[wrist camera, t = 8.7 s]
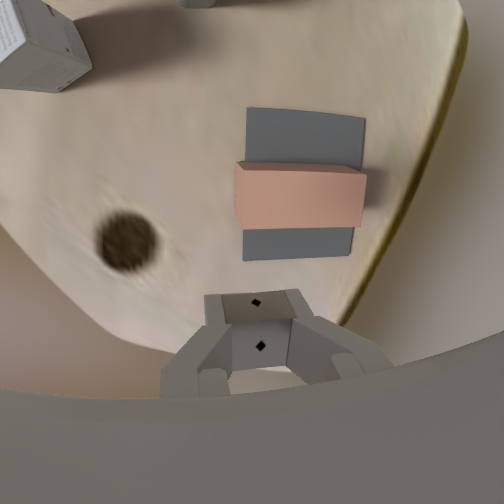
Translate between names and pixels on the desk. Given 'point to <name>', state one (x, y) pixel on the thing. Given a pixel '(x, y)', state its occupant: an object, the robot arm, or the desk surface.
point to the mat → (301, 151)
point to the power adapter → (197, 3)
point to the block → (298, 195)
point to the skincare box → (39, 48)
